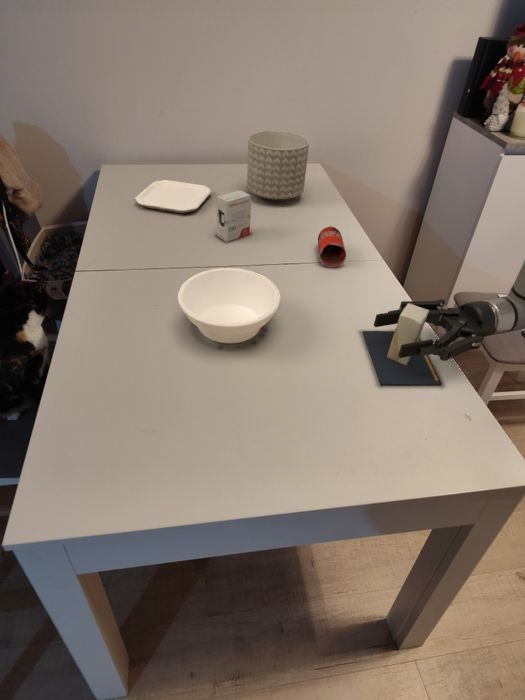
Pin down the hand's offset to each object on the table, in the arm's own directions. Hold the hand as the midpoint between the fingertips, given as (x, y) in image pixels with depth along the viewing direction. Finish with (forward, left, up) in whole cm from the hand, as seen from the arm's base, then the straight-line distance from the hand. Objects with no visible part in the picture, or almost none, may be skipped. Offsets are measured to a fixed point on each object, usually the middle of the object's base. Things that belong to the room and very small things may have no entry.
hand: (387, 335), depth 86 cm
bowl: (+11, +31, -7) cm, 33 cm away
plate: (+76, +49, -7) cm, 91 cm away
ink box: (+53, +30, -7) cm, 61 cm away
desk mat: (+1, -4, -7) cm, 8 cm away
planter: (+82, +16, -7) cm, 84 cm away
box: (+1, -4, -6) cm, 8 cm away
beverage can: (+42, +4, -7) cm, 43 cm away
